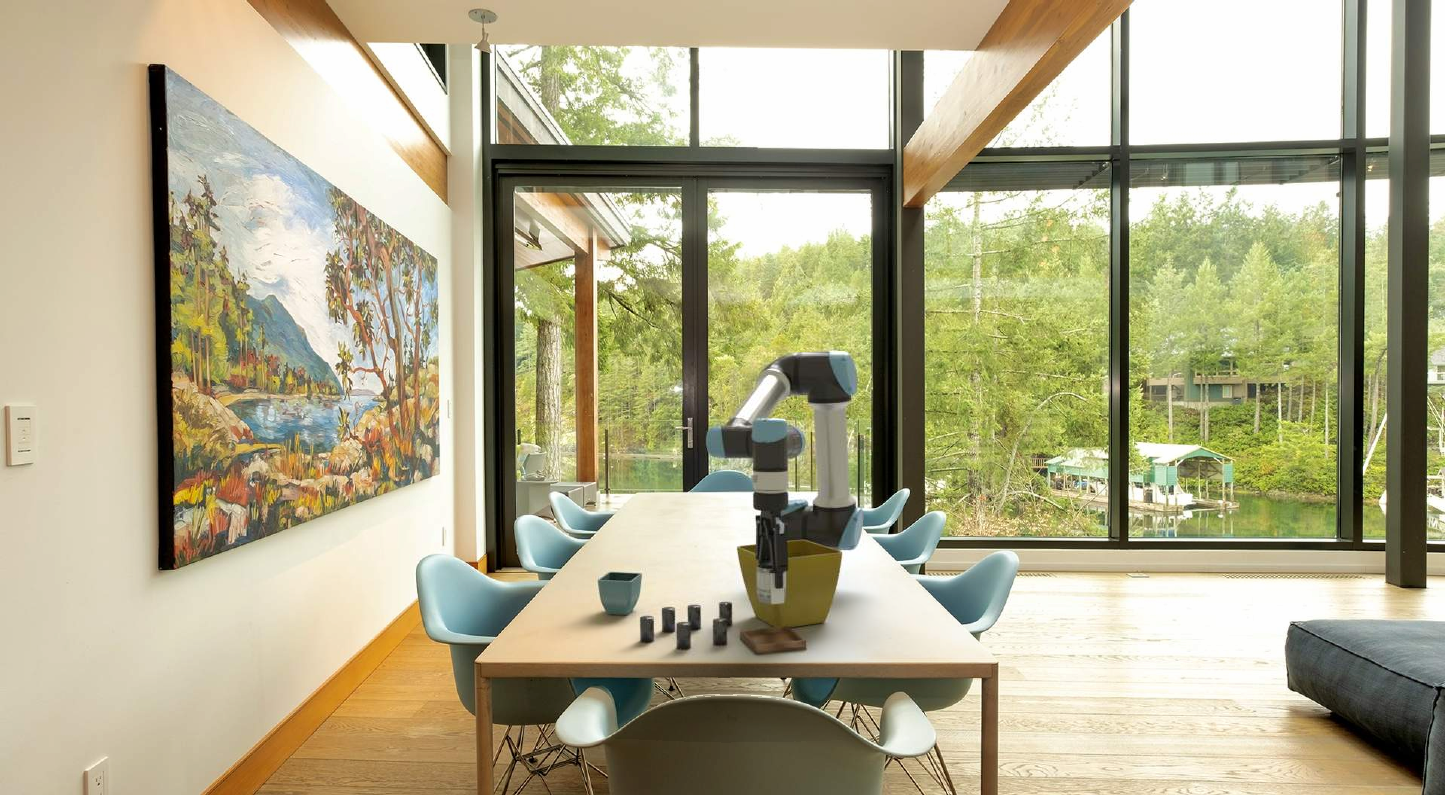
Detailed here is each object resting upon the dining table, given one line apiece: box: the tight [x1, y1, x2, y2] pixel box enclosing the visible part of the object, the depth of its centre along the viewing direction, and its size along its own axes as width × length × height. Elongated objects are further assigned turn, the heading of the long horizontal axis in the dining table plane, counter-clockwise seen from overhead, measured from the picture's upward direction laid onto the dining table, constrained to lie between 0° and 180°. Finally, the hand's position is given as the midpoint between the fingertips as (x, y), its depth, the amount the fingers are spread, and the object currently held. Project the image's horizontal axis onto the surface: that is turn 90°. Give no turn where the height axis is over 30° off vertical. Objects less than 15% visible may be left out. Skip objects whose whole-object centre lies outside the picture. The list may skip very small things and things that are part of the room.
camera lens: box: [756, 562, 786, 604], centre depth 168 cm, size 6×6×8 cm
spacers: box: [639, 601, 733, 651], centre depth 174 cm, size 22×16×5 cm
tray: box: [739, 626, 807, 656], centre depth 168 cm, size 11×11×2 cm
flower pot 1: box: [597, 571, 643, 616], centre depth 194 cm, size 9×9×9 cm
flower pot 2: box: [736, 540, 843, 628], centre depth 186 cm, size 19×19×17 cm
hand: (771, 598), depth 168 cm, fingers closed on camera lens, 6 cm apart
